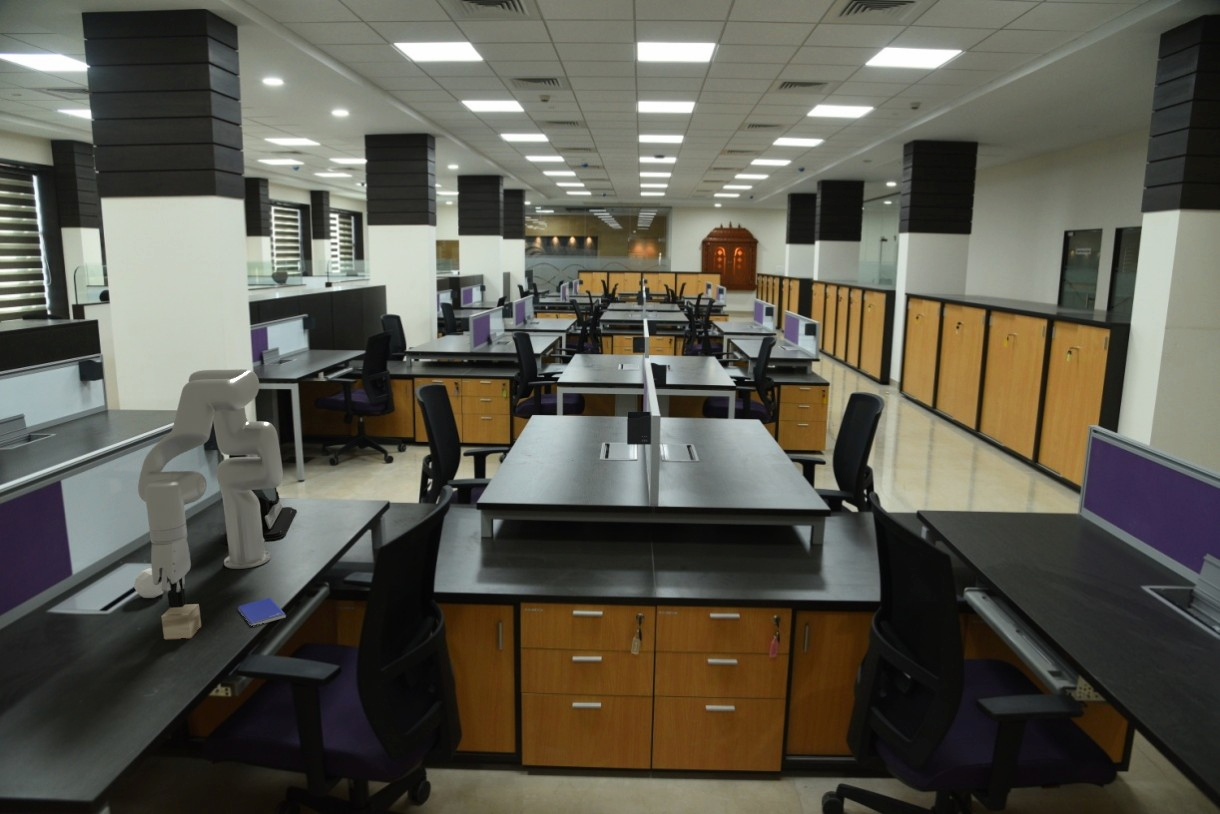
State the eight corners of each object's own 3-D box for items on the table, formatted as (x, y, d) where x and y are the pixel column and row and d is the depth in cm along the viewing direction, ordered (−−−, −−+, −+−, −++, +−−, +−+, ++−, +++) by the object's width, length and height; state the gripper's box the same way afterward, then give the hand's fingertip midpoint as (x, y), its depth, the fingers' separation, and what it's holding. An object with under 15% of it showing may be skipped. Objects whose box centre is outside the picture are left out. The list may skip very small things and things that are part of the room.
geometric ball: (159, 607, 208) (159, 590, 203) (128, 598, 207) (127, 582, 202) (173, 583, 214) (173, 567, 209) (143, 575, 213) (142, 558, 208)
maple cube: (161, 616, 184) (164, 639, 185) (187, 615, 184) (190, 638, 186) (173, 605, 190) (175, 627, 191) (198, 603, 190) (201, 626, 191)
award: (283, 540, 249) (274, 449, 243) (219, 545, 245) (209, 453, 239) (298, 510, 278) (290, 428, 272) (241, 514, 274) (232, 431, 268)
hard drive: (285, 613, 196) (270, 597, 205) (250, 623, 191) (237, 606, 200) (286, 619, 196) (271, 602, 205) (251, 629, 191) (238, 611, 200)
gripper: (166, 522, 189) (175, 593, 193) (136, 545, 175) (146, 621, 178) (198, 521, 190) (206, 592, 193) (171, 543, 175) (180, 619, 179)
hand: (177, 605), depth 186 cm, fingers closed
